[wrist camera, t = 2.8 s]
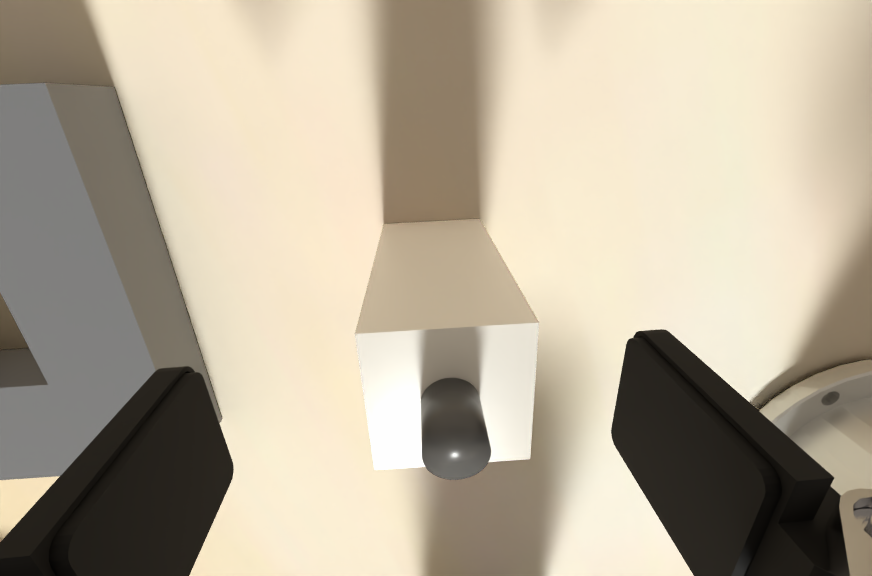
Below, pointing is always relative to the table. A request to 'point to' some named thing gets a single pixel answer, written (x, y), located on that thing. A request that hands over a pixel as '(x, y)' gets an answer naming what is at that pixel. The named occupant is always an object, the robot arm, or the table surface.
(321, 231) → the table surface
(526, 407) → the plug
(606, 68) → the table surface
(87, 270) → the socket block
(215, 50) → the table surface
